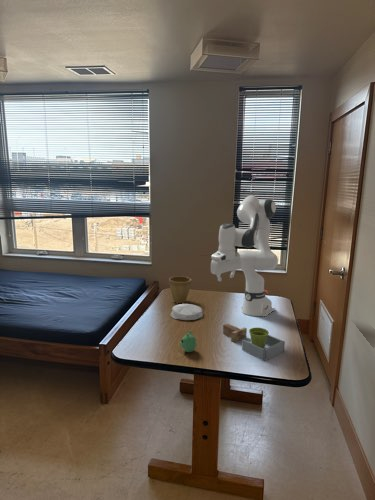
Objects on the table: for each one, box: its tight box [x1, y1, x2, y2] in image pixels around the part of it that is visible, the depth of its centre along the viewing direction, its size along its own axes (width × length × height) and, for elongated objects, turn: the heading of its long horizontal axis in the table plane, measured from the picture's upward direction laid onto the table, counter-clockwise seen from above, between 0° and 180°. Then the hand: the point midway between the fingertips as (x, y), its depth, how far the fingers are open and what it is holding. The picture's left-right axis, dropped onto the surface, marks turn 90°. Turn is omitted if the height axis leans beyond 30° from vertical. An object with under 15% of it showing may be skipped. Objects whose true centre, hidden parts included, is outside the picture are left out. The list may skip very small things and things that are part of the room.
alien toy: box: [179, 330, 197, 353], centre depth 162 cm, size 7×8×10 cm
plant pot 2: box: [248, 327, 270, 349], centre depth 166 cm, size 9×9×9 cm
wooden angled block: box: [222, 323, 248, 343], centre depth 179 cm, size 10×10×5 cm
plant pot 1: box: [168, 275, 192, 304], centre depth 229 cm, size 15×15×16 cm
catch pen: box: [241, 334, 286, 362], centre depth 164 cm, size 15×14×5 cm
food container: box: [170, 303, 204, 321], centre depth 208 cm, size 20×20×7 cm
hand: (225, 279), depth 184 cm, fingers open, 8 cm apart
